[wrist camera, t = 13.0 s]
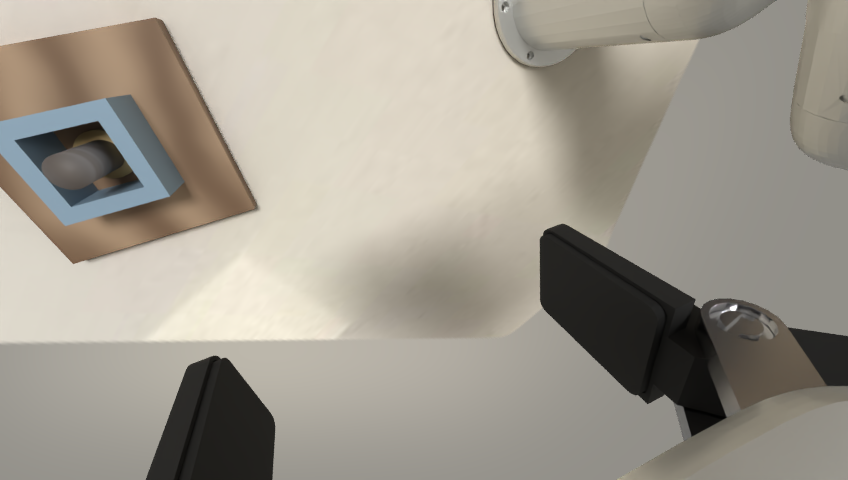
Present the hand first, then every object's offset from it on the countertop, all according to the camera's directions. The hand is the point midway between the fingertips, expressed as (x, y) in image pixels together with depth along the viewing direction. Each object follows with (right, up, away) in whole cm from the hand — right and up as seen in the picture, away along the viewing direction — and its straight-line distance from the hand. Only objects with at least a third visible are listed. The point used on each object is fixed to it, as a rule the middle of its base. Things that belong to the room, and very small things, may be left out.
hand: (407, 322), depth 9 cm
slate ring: (-25, +10, +17) cm, 32 cm away
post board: (-26, +10, +18) cm, 33 cm away
